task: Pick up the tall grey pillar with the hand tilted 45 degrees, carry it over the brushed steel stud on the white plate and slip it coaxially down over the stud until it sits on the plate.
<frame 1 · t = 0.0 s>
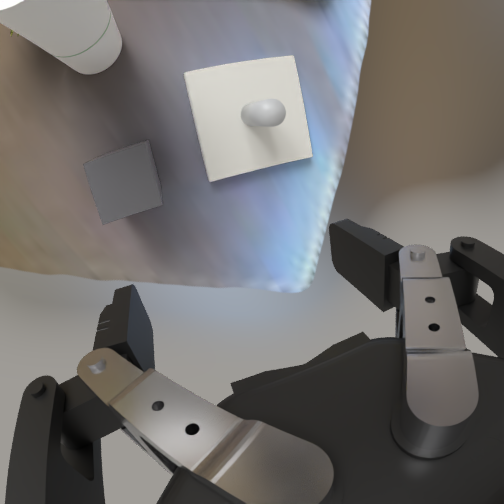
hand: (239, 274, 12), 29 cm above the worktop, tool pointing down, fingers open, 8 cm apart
cylindrical container: (94, 48, 29), on the worktop
stud plate: (249, 114, 38), on the worktop
tall grey pillar: (131, 170, 36), on the worktop
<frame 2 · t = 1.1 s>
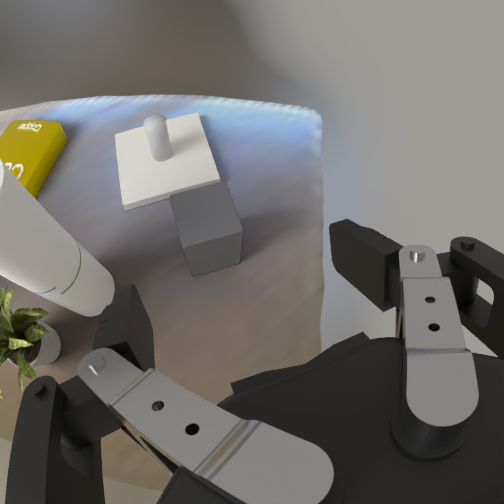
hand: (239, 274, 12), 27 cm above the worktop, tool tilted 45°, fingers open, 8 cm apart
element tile: (25, 166, 45), on the worktop
house plant: (46, 354, 35), on the worktop
cylindrical container: (91, 290, 38), on the worktop
stud plate: (163, 159, 46), on the worktop
tall grey pillar: (209, 248, 41), on the worktop
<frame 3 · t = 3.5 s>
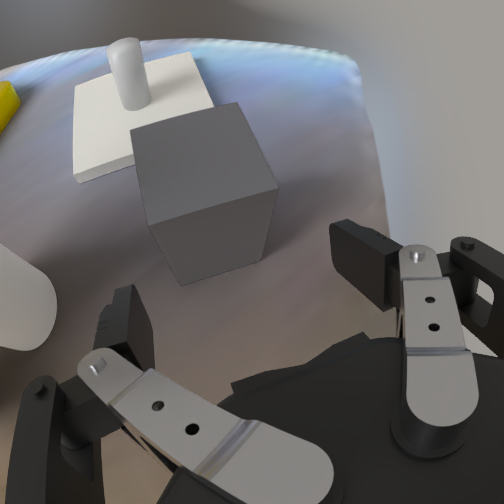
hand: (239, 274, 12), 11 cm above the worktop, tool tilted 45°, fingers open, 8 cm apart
cylindrical container: (25, 309, 21), on the worktop
stud plate: (139, 111, 29), on the worktop
tall grey pillar: (208, 236, 24), on the worktop
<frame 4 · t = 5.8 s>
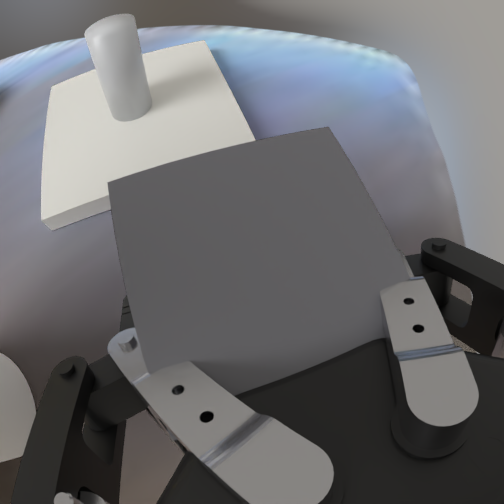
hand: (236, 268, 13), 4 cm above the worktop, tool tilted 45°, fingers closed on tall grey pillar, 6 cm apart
stud plate: (136, 120, 21), on the worktop
tall grey pillar: (246, 324, 16), on the worktop, touching gripper
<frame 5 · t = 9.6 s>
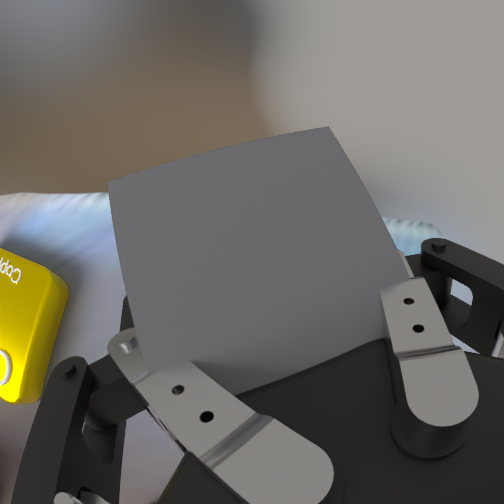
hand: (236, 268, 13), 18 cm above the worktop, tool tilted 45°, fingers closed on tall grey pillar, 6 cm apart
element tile: (10, 323, 28), on the worktop
tall grey pillar: (246, 324, 16), point 14 cm above the worktop, touching gripper
when the fingers open (7 cm above the worktop, at t = 13.4 s): tall grey pillar drops 1 cm, resting on stud plate.
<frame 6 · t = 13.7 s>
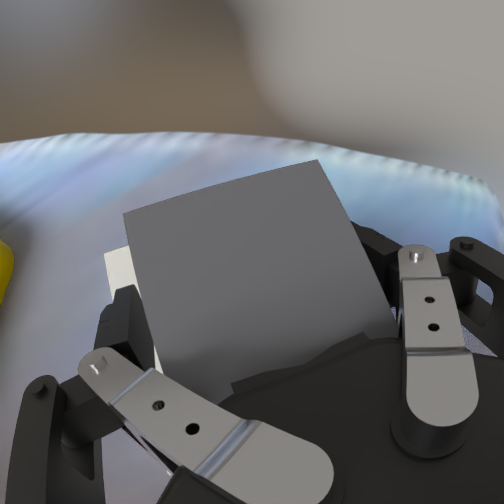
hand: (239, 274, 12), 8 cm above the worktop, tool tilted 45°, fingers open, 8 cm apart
stud plate: (243, 331, 19), on the worktop
tall grey pillar: (245, 329, 18), point 1 cm above the worktop, touching stud plate
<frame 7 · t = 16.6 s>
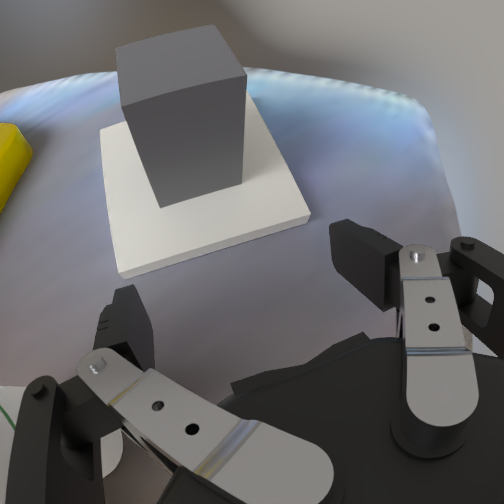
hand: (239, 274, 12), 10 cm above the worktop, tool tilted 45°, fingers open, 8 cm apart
cylindrical container: (79, 433, 17), on the worktop
stud plate: (192, 173, 25), on the worktop
tall grey pillar: (190, 163, 24), point 1 cm above the worktop, touching stud plate
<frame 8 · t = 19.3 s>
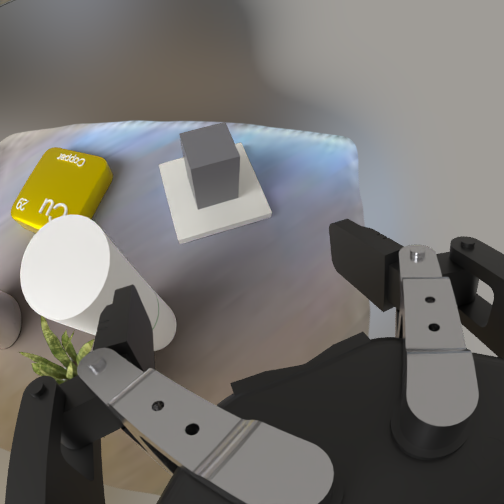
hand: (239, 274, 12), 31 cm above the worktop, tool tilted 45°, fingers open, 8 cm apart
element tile: (65, 200, 48), on the worktop
house plant: (107, 389, 37), on the worktop
cylindrical container: (151, 325, 41), on the worktop
stud plate: (212, 191, 49), on the worktop
tall grey pillar: (212, 186, 47), point 1 cm above the worktop, touching stud plate
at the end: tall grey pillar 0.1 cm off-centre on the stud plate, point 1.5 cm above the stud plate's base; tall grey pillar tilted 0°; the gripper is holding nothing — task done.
